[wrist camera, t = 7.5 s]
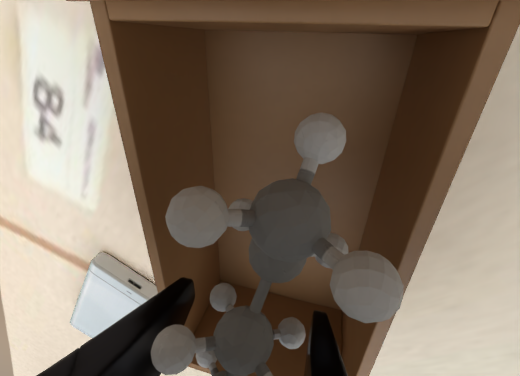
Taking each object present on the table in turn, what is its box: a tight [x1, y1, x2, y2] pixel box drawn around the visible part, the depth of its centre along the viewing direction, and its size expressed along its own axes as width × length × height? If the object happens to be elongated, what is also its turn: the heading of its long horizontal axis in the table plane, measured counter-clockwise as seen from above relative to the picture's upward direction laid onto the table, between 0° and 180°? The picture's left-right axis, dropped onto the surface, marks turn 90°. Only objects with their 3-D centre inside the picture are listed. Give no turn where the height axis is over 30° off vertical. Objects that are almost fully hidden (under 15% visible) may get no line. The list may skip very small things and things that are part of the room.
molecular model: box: [151, 112, 404, 376], centre depth 8 cm, size 14×4×5 cm, turn 166°
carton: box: [90, 0, 520, 376], centre depth 13 cm, size 18×10×6 cm, turn 178°
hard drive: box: [70, 252, 158, 338], centre depth 26 cm, size 2×8×12 cm
